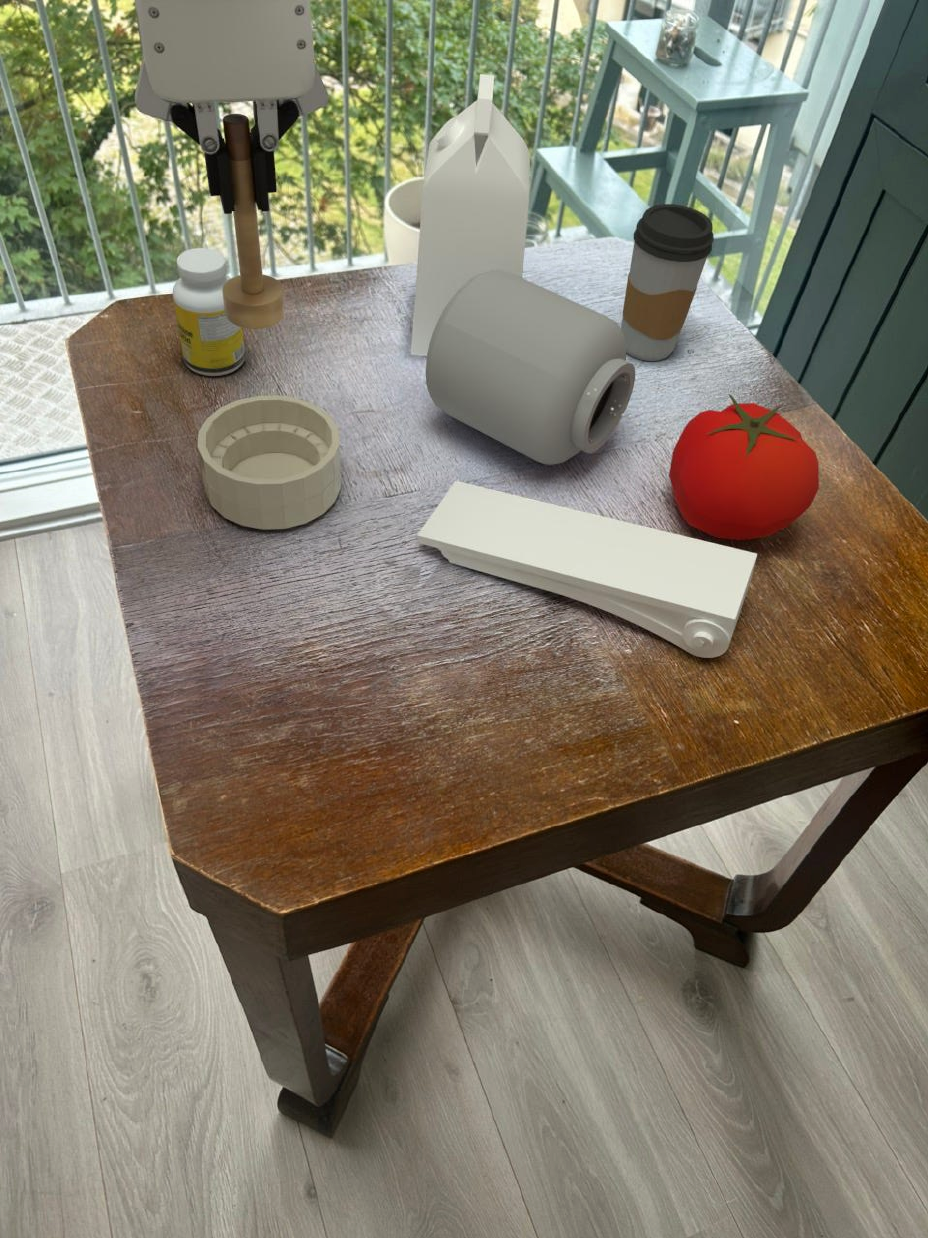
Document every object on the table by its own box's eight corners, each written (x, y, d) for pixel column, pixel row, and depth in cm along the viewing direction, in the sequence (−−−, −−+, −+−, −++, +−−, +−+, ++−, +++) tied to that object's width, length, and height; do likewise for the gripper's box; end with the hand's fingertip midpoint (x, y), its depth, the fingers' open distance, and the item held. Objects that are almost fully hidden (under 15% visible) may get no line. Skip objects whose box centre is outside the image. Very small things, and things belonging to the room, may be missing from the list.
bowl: (178, 500, 88) (167, 449, 83) (259, 430, 95) (254, 379, 90) (290, 553, 84) (286, 502, 80) (365, 475, 92) (365, 425, 87)
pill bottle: (190, 341, 104) (174, 240, 95) (250, 345, 104) (239, 244, 95) (178, 376, 100) (160, 274, 91) (241, 381, 100) (229, 279, 91)
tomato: (685, 457, 97) (717, 361, 89) (810, 511, 93) (856, 415, 85) (635, 525, 90) (664, 426, 81) (768, 586, 86) (814, 489, 78)
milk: (514, 364, 106) (547, 118, 86) (410, 354, 105) (420, 105, 86) (515, 305, 114) (546, 68, 94) (419, 296, 113) (429, 56, 94)
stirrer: (213, 316, 71) (185, 120, 61) (249, 290, 74) (229, 98, 63) (261, 335, 70) (242, 139, 59) (296, 309, 73) (284, 116, 62)
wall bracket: (424, 593, 90) (721, 678, 81) (409, 550, 83) (729, 637, 75) (464, 511, 94) (751, 583, 85) (453, 463, 88) (761, 536, 79)
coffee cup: (665, 323, 114) (697, 199, 102) (693, 364, 108) (731, 238, 97) (599, 329, 112) (625, 203, 100) (625, 370, 107) (656, 243, 95)
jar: (545, 309, 105) (740, 390, 91) (484, 432, 107) (664, 527, 94) (448, 233, 89) (666, 317, 76) (379, 379, 92) (577, 484, 78)
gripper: (340, -145, 56) (346, 172, 70) (55, -152, 52) (121, 184, 66) (368, -109, 51) (368, 222, 65) (57, -114, 47) (128, 238, 61)
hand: (243, 201), depth 65 cm, fingers closed on stirrer
